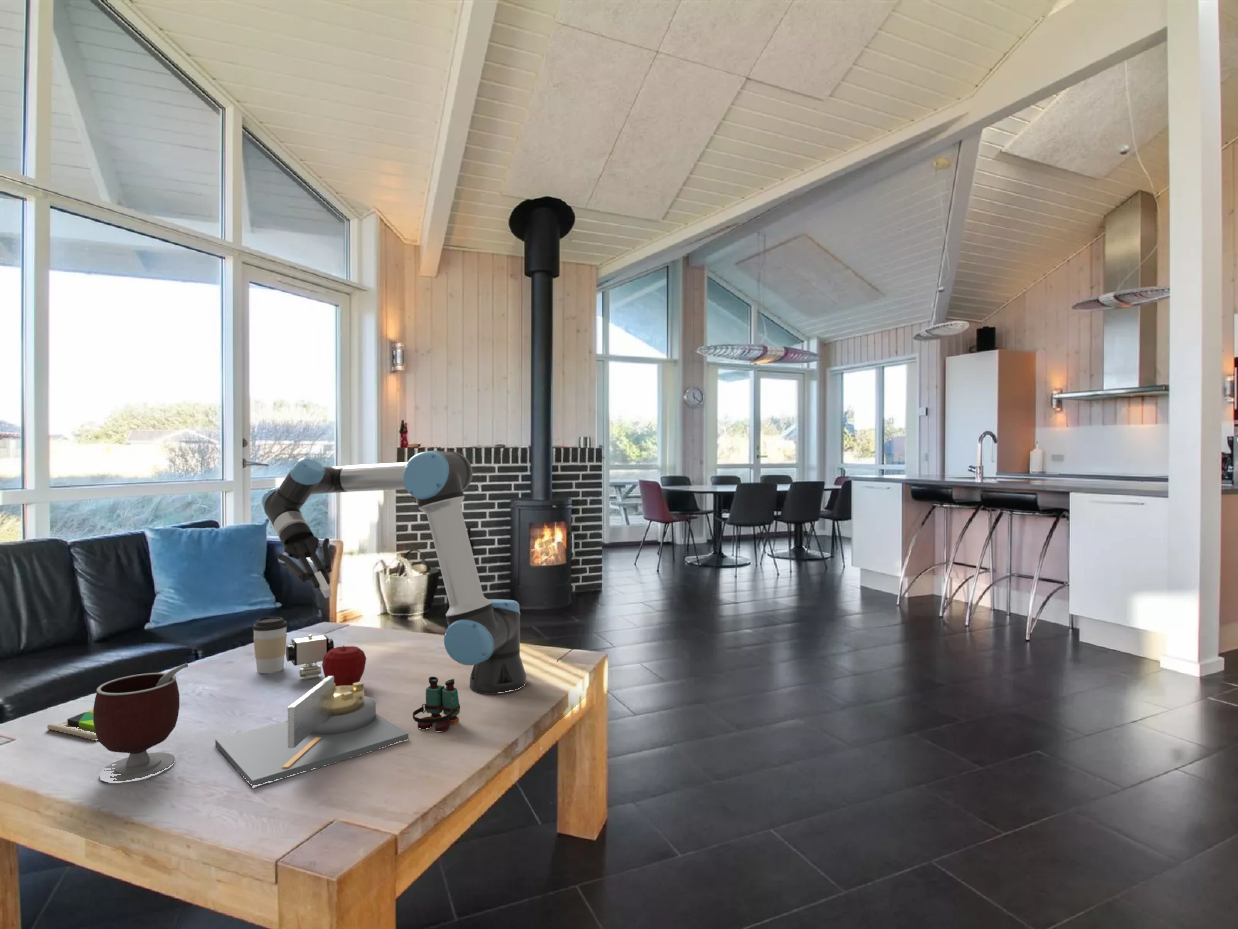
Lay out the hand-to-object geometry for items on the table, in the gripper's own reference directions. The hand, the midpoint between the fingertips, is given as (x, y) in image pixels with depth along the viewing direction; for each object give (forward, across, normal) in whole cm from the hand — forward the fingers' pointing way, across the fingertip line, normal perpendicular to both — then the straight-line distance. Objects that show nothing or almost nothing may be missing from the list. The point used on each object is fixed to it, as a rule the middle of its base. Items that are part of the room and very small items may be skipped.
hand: (327, 593), depth 165 cm
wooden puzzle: (-9, +49, -27) cm, 56 cm away
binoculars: (+40, -9, -11) cm, 42 cm away
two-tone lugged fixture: (+28, +12, -6) cm, 31 cm away
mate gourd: (+19, +44, -7) cm, 48 cm away
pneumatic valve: (-7, +6, -41) cm, 42 cm away
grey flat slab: (+30, +15, -10) cm, 35 cm away
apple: (+6, +1, -32) cm, 33 cm away
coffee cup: (-20, +14, -47) cm, 53 cm away
